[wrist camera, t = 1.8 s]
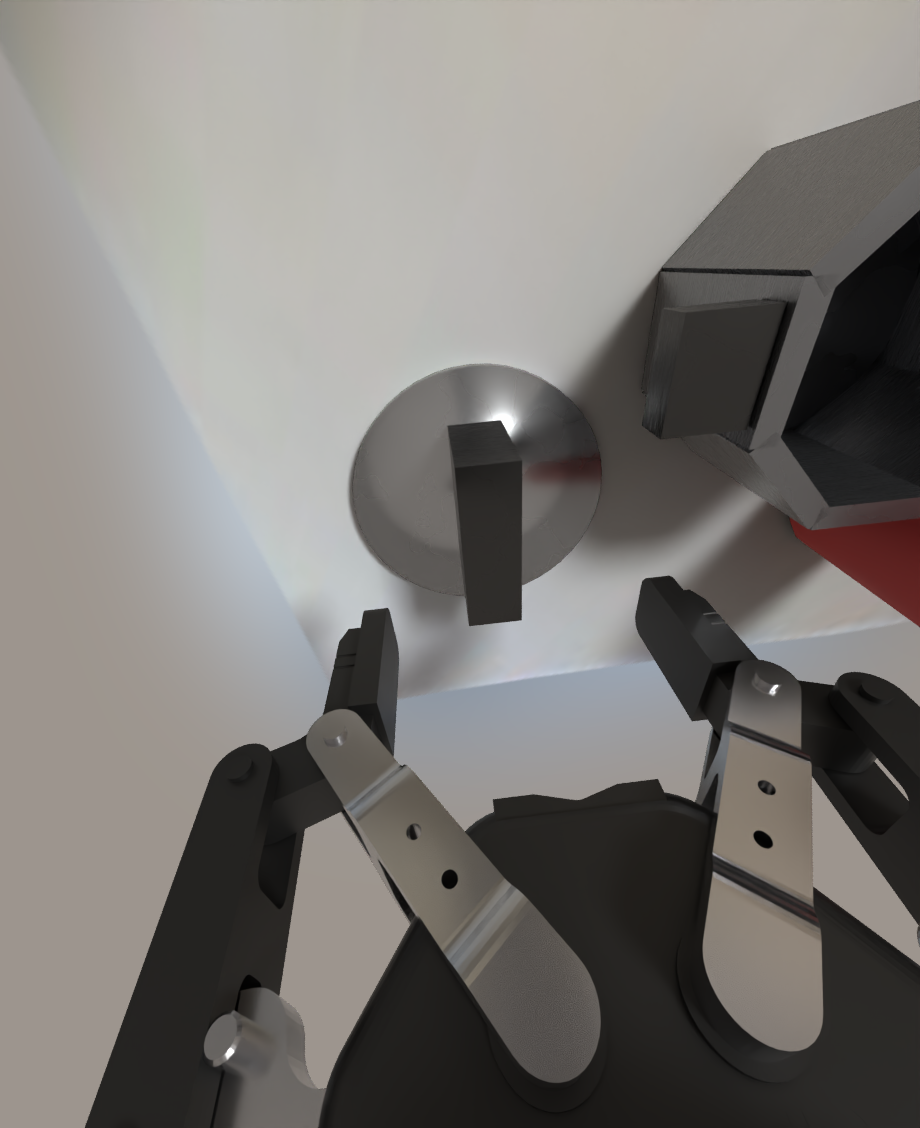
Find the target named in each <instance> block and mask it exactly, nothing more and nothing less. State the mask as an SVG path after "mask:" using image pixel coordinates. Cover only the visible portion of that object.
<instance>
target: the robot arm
mask: <svg viewBox="0 0 920 1128" xmlns="http://www.w3.org/2000/svg"><path fill="white" fill-rule="evenodd" d="M635 620H636V627H637V630H638V633H639V635H640V637H641V638H642V640H643V642H644V643H645V645H646V646H647V648H648V650H649V651H650V653H651V655H652V656H653V658H654V660H655V661H656V663H657V665H658V666H659V668H660V669H661V671H662V673H663V674H664V676H665V677H666V679H667V681H668V683H669V684H670V686H671V687H672V689H673V691H674V692H675V694H676V696H677V697H678V699H679V700H680V702H681V704H682V705H683V707H684V709H685V710H686V712H687V714H688V715H689V717H690V718H691V720H692V721H698V720H707V719H708V720H709V722H710V723H711V725H712V729H711V731H710V735H709V740H708V745H707V751H706V756H705V761H704V766H703V772H702V777H701V782H700V787H699V791H698V794H697V798H696V801H695V802H693V801H691V800H689V799H686V798H683V797H681V796H678V795H674V794H670V793H664V791H663V789H662V787H661V785H660V783H659V781H658V779H655V780H646V781H638V782H630V783H622V784H616V785H614V786H612V787H610V788H607V789H605V790H603V791H600V792H598V793H596V794H594V795H591V796H589V797H587V798H584V799H582V800H569V799H563V798H555V797H548V796H541V795H526V796H518V797H509V798H502V799H493V805H494V812H493V813H491V814H488V815H486V816H484V817H483V818H481V819H480V820H478V821H476V822H475V823H474V824H473V825H472V826H470V827H469V828H468V829H467V830H466V831H464V830H463V829H462V828H461V827H460V825H459V824H458V823H457V822H456V821H455V820H454V818H453V817H452V816H451V815H450V814H449V812H448V811H447V810H446V809H445V808H444V807H443V805H442V804H441V803H440V802H439V801H438V800H437V798H436V797H435V796H434V795H433V794H432V793H431V791H430V790H429V789H428V788H427V787H426V786H425V784H424V783H423V782H422V781H421V780H420V779H419V777H418V776H417V775H416V774H415V773H414V772H413V771H412V770H411V768H409V767H408V766H407V765H403V766H401V765H400V764H399V763H398V762H397V761H396V760H395V759H394V742H395V740H394V739H395V723H396V705H397V688H398V670H399V652H398V645H397V640H396V636H395V632H394V627H393V623H392V619H391V615H390V611H389V609H388V608H384V609H375V610H367V611H364V613H363V618H362V624H361V628H355V629H348V631H347V632H346V634H345V635H344V636H343V638H342V639H341V640H340V642H339V646H338V650H337V655H336V657H337V658H336V659H335V664H334V670H333V673H332V677H331V682H330V686H329V691H328V695H327V700H326V704H325V709H324V713H323V716H321V717H320V718H319V719H318V720H317V721H316V722H315V723H314V724H313V725H312V726H311V728H310V730H309V732H308V734H307V735H305V736H304V737H302V738H301V739H299V740H297V741H295V742H292V743H290V744H287V745H285V746H283V747H280V748H278V749H275V750H273V751H269V749H268V748H267V747H265V746H264V745H261V744H247V745H244V746H241V747H239V748H237V749H235V750H233V751H231V752H230V753H229V754H227V755H226V756H225V757H224V758H223V759H222V760H221V761H220V762H219V763H218V764H217V766H216V767H215V769H214V771H213V772H212V775H211V777H210V780H209V783H208V786H207V788H206V791H205V794H204V797H203V800H202V802H201V805H200V808H199V811H198V814H197V816H196V819H195V822H194V824H193V828H192V830H191V833H190V836H189V838H188V841H187V844H186V847H185V850H184V853H183V855H182V858H181V861H180V864H179V866H178V869H177V872H176V875H175V877H174V880H173V883H172V886H171V889H170V892H169V895H168V897H167V900H166V903H165V906H164V908H163V911H162V914H161V917H160V919H159V922H158V925H157V928H156V931H155V933H154V936H153V939H152V942H151V945H150V947H149V950H148V953H147V956H146V958H145V962H144V964H143V967H142V970H141V972H140V975H139V978H138V981H137V984H136V986H135V989H134V992H133V995H132V997H131V1000H130V1003H129V1006H128V1009H127V1011H126V1014H125V1017H124V1020H123V1023H122V1025H121V1028H120V1031H119V1034H118V1037H117V1039H116V1042H115V1045H114V1048H113V1050H112V1053H111V1056H110V1059H109V1062H108V1064H107V1067H106V1070H105V1073H104V1076H103V1078H102V1081H101V1084H100V1087H99V1089H98V1092H97V1095H96V1098H95V1101H94V1104H93V1106H92V1109H91V1112H90V1115H89V1117H88V1120H87V1123H86V1126H85V1128H920V966H919V965H918V964H917V963H915V962H914V961H913V960H911V959H910V958H909V957H907V956H906V955H904V954H903V953H901V952H900V951H899V950H897V949H896V948H895V947H894V946H892V945H891V944H890V943H888V942H887V941H886V940H884V939H883V938H882V937H880V936H879V935H877V934H876V933H875V932H873V931H872V930H871V929H870V928H868V927H867V926H865V925H864V924H863V923H861V922H860V921H859V920H857V919H856V918H855V917H853V916H852V915H851V914H849V913H848V912H846V911H845V910H844V909H842V908H841V907H840V906H839V905H837V904H836V903H834V902H833V901H832V900H830V899H829V898H828V897H826V896H825V895H824V894H822V893H821V892H820V891H818V890H817V889H816V888H814V887H813V849H812V848H813V846H812V777H813V778H814V779H815V781H816V782H817V784H818V785H819V786H820V788H821V789H822V790H823V792H824V793H825V795H826V796H827V798H828V799H829V800H830V802H831V803H832V805H833V806H834V807H835V809H836V810H837V812H838V813H839V814H840V816H841V817H842V818H843V820H844V821H845V823H846V824H847V825H848V827H849V828H850V830H851V831H852V833H853V834H854V835H855V837H856V838H857V840H858V841H859V842H860V844H861V845H862V847H863V848H864V849H865V851H866V852H867V853H868V855H869V856H870V858H871V859H872V861H873V862H874V863H875V865H876V866H877V867H878V869H879V870H880V872H881V873H882V875H883V876H884V877H885V879H886V880H887V882H888V883H889V884H890V886H891V887H892V889H893V890H894V891H895V893H896V894H897V896H898V897H899V898H900V899H901V901H902V902H903V904H904V905H905V907H906V908H907V909H908V911H909V912H910V914H911V915H912V917H913V918H914V919H915V921H916V922H917V924H918V925H919V926H918V930H917V939H918V943H919V947H920V707H919V706H918V705H917V704H916V703H915V702H914V701H913V700H912V699H910V697H909V696H907V694H905V693H904V692H903V691H902V690H901V689H900V688H898V687H897V686H895V685H894V684H892V683H890V682H888V681H886V680H884V679H882V678H880V677H877V676H874V675H871V674H866V673H861V672H850V673H845V674H843V675H841V676H840V677H839V679H838V680H837V682H836V683H835V685H827V684H820V683H813V682H805V681H799V680H797V679H796V678H795V677H794V676H793V675H792V674H791V673H790V672H788V671H787V670H786V669H784V668H782V667H781V666H778V665H776V664H774V663H771V662H768V661H764V660H758V659H757V658H756V656H755V655H754V654H753V653H752V652H751V651H750V650H749V648H748V647H747V646H746V645H745V644H744V643H743V642H742V640H741V639H740V638H739V637H738V636H737V635H736V634H735V632H734V631H733V630H732V629H731V628H730V627H729V626H728V624H725V621H724V620H723V619H722V618H721V617H720V615H719V614H716V611H715V610H714V609H713V607H712V606H711V605H710V604H709V603H708V602H707V601H706V599H704V598H702V597H701V596H699V595H697V594H696V593H694V592H693V591H691V590H683V589H682V588H681V587H680V585H679V584H678V583H677V582H676V581H675V579H674V578H673V577H671V576H662V577H653V578H646V579H644V580H643V582H642V585H641V590H640V595H639V600H638V605H637V610H636V616H635ZM876 758H878V759H879V761H880V762H881V763H882V764H883V765H884V766H885V768H886V769H887V770H888V771H889V772H890V773H891V774H892V775H893V777H894V778H895V779H896V780H897V781H898V782H899V783H900V785H901V786H902V787H903V789H904V790H905V792H906V794H907V796H908V799H909V801H908V800H907V799H906V798H905V797H904V796H903V794H902V793H901V792H900V791H899V790H898V788H897V787H896V786H895V785H894V784H893V783H892V781H891V780H890V779H889V778H888V777H887V776H886V774H885V773H884V772H883V771H882V770H881V769H880V768H879V766H878V765H877V764H876V763H875V762H874V761H875V760H876ZM339 812H340V813H341V814H342V816H343V817H344V819H345V820H346V822H347V824H348V825H349V827H350V828H351V830H352V832H353V833H354V835H355V836H356V838H357V839H358V841H359V843H360V844H361V846H362V847H363V849H364V851H365V852H366V854H367V855H368V856H369V858H370V860H371V862H372V863H373V865H374V866H375V868H376V870H377V871H378V873H379V875H380V877H381V879H382V880H383V882H384V884H385V885H386V887H387V889H388V890H389V892H390V894H391V895H392V897H393V898H394V900H395V902H396V903H397V905H398V906H399V908H400V910H401V911H402V913H403V914H404V916H405V918H406V919H407V921H408V922H409V924H410V926H409V928H408V930H407V931H406V933H405V935H404V937H403V939H402V941H401V943H400V944H399V946H398V948H397V950H396V952H395V953H394V955H393V957H392V959H391V961H390V963H389V964H388V967H387V968H386V970H385V972H384V974H383V976H382V977H381V979H380V981H379V983H378V985H377V986H376V988H375V990H374V992H373V994H372V996H371V997H370V999H369V1001H368V1003H367V1005H366V1006H365V1008H364V1010H363V1012H362V1014H361V1016H360V1017H359V1019H358V1021H357V1023H356V1025H355V1027H354V1028H353V1030H352V1032H351V1034H350V1036H349V1037H348V1039H347V1041H346V1043H345V1045H344V1047H343V1049H342V1050H341V1052H340V1054H339V1056H338V1059H337V1061H336V1063H335V1066H334V1068H333V1071H332V1073H331V1076H330V1079H329V1082H328V1085H327V1088H324V1089H318V1088H317V1087H316V1086H315V1085H314V1083H313V1082H312V1080H311V1078H310V1076H309V1074H308V1070H307V1066H306V1061H305V1032H304V1026H303V1022H302V1019H301V1017H300V1015H299V1013H298V1012H297V1010H296V1009H295V1008H294V1007H293V1006H291V1005H290V1004H289V1003H287V1002H286V1001H285V1000H283V999H282V998H281V997H279V994H280V988H281V981H282V975H283V968H284V962H285V954H286V948H287V942H288V935H289V928H290V922H291V915H292V909H293V902H294V896H295V890H296V883H297V877H298V870H299V864H300V857H301V851H302V844H303V837H304V831H305V829H306V828H308V827H310V826H312V825H314V824H316V823H318V822H320V821H322V820H324V819H326V818H329V817H331V816H332V815H335V814H337V813H339Z"/></svg>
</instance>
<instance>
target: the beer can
mask: <svg viewBox="0 0 920 1128" xmlns="http://www.w3.org/2000/svg"><path fill="white" fill-rule="evenodd" d="M790 522H791V525H792V528H793V530H794V533H795V536H796V537H797V538H798V539H799V540H801V541H802V542H803V543H804V544H806V545H807V546H808V547H810V548H811V549H813V550H814V551H815V552H817V553H818V554H819V555H821V556H822V557H824V558H825V559H826V560H828V561H829V562H831V563H832V564H833V565H835V566H836V567H837V568H839V569H840V570H842V571H843V572H844V573H846V574H847V575H849V576H850V577H851V578H853V579H854V580H855V581H857V582H858V583H860V584H861V585H862V586H864V587H865V588H866V589H868V590H869V591H871V592H872V593H873V594H875V595H876V596H878V597H879V598H880V599H882V600H883V601H884V602H886V603H887V604H889V605H890V606H891V607H893V608H894V609H896V610H897V611H898V612H900V613H901V614H902V615H904V616H905V617H907V618H908V619H909V620H911V621H912V622H913V623H915V624H916V625H918V626H919V627H920V518H917V519H908V520H899V521H890V522H881V523H872V524H863V525H855V526H846V527H837V528H828V529H819V530H810V529H807V528H805V527H804V526H802V525H801V524H799V523H798V522H796V521H795V520H793V519H792V518H790Z"/></svg>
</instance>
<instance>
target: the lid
mask: <svg viewBox="0 0 920 1128" xmlns="http://www.w3.org/2000/svg"><path fill="white" fill-rule="evenodd" d="M601 476H602V470H601V459H600V454H599V450H598V445H597V442H596V439H595V437H594V434H593V432H592V429H591V427H590V426H589V424H588V422H587V421H586V419H585V417H584V416H583V414H582V413H581V412H580V410H579V409H578V408H577V407H576V406H575V404H574V403H573V402H572V401H571V400H570V399H569V398H568V397H567V396H565V395H564V394H563V393H562V392H561V391H560V390H559V389H557V388H556V387H555V386H553V385H552V384H550V383H549V382H547V381H545V380H544V379H542V378H541V377H538V376H536V375H534V374H532V373H529V372H527V371H525V370H521V369H517V368H514V367H510V366H505V365H496V364H468V365H462V366H457V367H451V368H448V369H445V370H442V371H439V372H436V373H433V374H431V375H429V376H427V377H424V378H422V379H420V380H418V381H416V382H415V383H413V384H412V385H410V386H409V387H407V388H406V389H404V390H403V391H401V392H400V393H399V394H398V395H397V396H396V397H395V398H394V399H392V400H391V401H390V402H389V403H388V404H387V405H386V406H385V407H384V409H383V410H382V411H381V412H380V413H379V415H378V416H377V417H376V418H375V420H374V422H373V423H372V425H371V427H370V428H369V430H368V431H367V433H366V436H365V438H364V440H363V443H362V445H361V447H360V450H359V453H358V457H357V461H356V465H355V469H354V477H353V500H354V506H355V511H356V515H357V518H358V521H359V525H360V527H361V529H362V532H363V534H364V536H365V538H366V540H367V541H368V543H369V544H370V546H371V547H372V549H373V550H374V552H375V553H376V554H377V555H378V556H379V557H380V558H381V559H382V561H383V562H384V563H385V564H387V565H388V566H389V567H390V568H391V569H392V570H393V571H395V572H396V573H398V574H399V575H401V576H402V577H404V578H405V579H407V580H409V581H411V582H413V583H415V584H417V585H419V586H422V587H424V588H427V589H429V590H433V591H437V592H441V593H445V594H452V595H463V596H465V599H466V606H467V614H468V621H469V626H475V625H484V624H493V623H501V622H510V621H519V620H522V585H524V584H526V583H528V582H530V581H532V580H534V579H536V578H538V577H540V576H541V575H543V574H544V573H546V572H548V571H549V570H550V569H552V568H553V567H554V566H556V565H557V564H558V563H559V562H561V561H562V560H563V559H564V558H565V557H566V556H567V555H568V554H569V553H570V552H571V550H572V549H573V548H574V547H575V546H576V544H577V543H578V542H579V541H580V539H581V538H582V536H583V534H584V533H585V531H586V530H587V528H588V526H589V524H590V522H591V520H592V518H593V515H594V512H595V509H596V506H597V503H598V500H599V494H600V489H601Z"/></svg>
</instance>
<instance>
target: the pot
mask: <svg viewBox="0 0 920 1128" xmlns="http://www.w3.org/2000/svg"><path fill="white" fill-rule="evenodd" d="M662 268H663V270H664V271H663V272H660V275H659V281H658V287H657V294H656V300H655V306H654V312H653V319H652V325H651V331H650V337H649V343H648V350H647V356H646V362H645V368H644V375H643V381H642V387H641V389H642V390H643V392H642V393H643V394H644V395H645V396H646V404H645V410H644V416H643V422H642V426H643V427H644V428H646V429H647V430H649V431H650V432H651V433H653V434H654V435H656V436H657V437H658V438H660V439H667V438H676V437H681V438H682V439H683V440H684V442H685V443H686V444H687V445H688V446H689V447H690V448H691V450H692V451H693V452H695V453H696V454H698V455H699V456H701V457H702V458H704V459H705V460H707V461H708V462H710V463H711V464H713V465H714V466H716V467H717V468H718V469H720V470H721V471H723V472H724V473H726V474H727V475H729V476H730V477H732V478H733V479H735V480H736V481H738V482H739V483H740V484H742V485H743V486H745V487H746V488H748V489H749V490H751V491H752V492H754V493H755V494H757V495H758V496H760V497H761V498H763V499H764V500H765V501H767V502H768V503H770V504H771V505H773V506H774V507H776V508H777V509H779V510H780V511H782V512H783V513H785V514H786V515H788V516H789V517H790V518H792V519H793V520H795V521H796V522H798V523H799V524H801V525H802V526H804V527H805V528H807V529H810V530H819V529H828V528H837V527H846V526H855V525H863V524H872V523H881V522H890V521H899V520H908V519H917V518H920V100H919V101H916V102H912V103H909V104H906V105H903V106H900V107H897V108H894V109H891V110H888V111H885V112H882V113H879V114H876V115H873V116H869V117H866V118H863V119H860V120H857V121H854V122H851V123H848V124H845V125H842V126H839V127H836V128H833V129H830V130H827V131H823V132H820V133H817V134H814V135H811V136H808V137H805V138H802V139H799V140H796V141H793V142H790V143H787V144H784V145H781V146H777V147H774V148H771V150H769V151H767V152H766V153H765V154H764V155H763V156H762V157H761V158H760V159H759V160H758V162H757V163H756V164H755V165H754V166H753V167H752V168H751V169H750V170H749V172H748V173H747V174H746V175H745V176H744V177H743V178H742V179H741V180H740V182H739V183H738V184H737V185H736V186H735V187H734V188H733V189H732V190H731V192H730V193H729V194H728V195H727V196H726V197H725V198H724V199H723V200H722V202H721V203H720V204H719V205H718V206H717V207H716V208H715V209H714V210H713V212H712V213H711V214H710V215H709V216H708V217H707V218H706V219H705V220H704V222H703V223H702V224H701V225H700V226H699V227H698V228H697V229H696V230H695V232H694V233H693V234H692V235H691V236H690V237H689V238H688V239H687V240H686V242H685V243H684V244H683V245H682V246H681V247H680V248H679V249H678V250H677V252H676V253H675V254H674V255H673V256H672V257H671V258H670V259H669V260H668V262H667V263H666V264H665V265H664V266H663V267H662Z"/></svg>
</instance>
